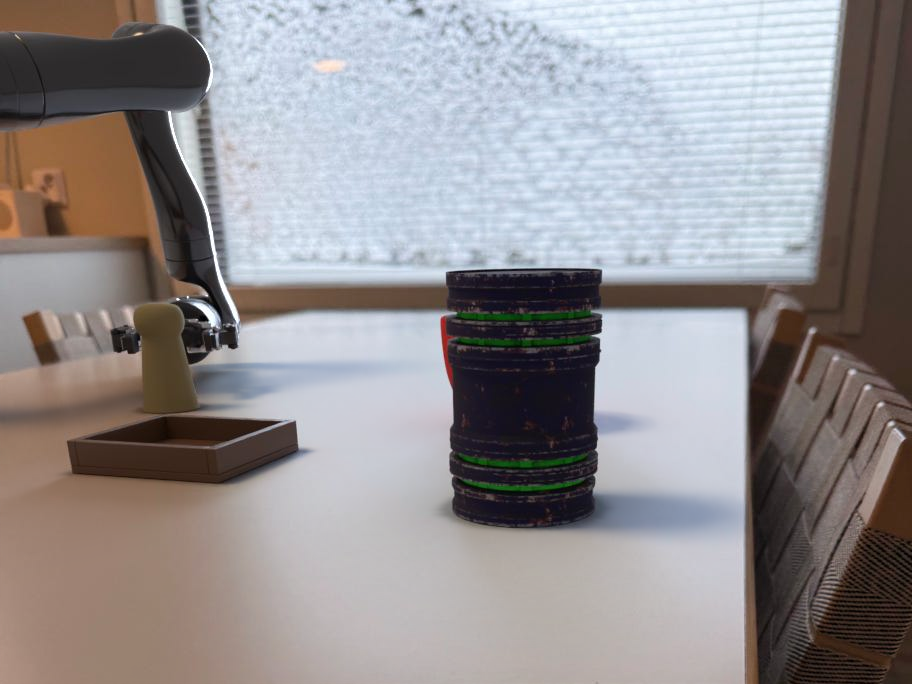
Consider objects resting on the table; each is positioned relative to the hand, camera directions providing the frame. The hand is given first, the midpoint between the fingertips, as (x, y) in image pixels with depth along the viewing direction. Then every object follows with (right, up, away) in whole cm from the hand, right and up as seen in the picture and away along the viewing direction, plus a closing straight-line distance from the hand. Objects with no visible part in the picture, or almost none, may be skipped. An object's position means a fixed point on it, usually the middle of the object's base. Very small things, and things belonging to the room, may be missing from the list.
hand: (168, 343), depth 107 cm
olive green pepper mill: (+1, -8, -2) cm, 8 cm away
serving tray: (+11, -18, -27) cm, 34 cm away
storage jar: (+38, -24, -42) cm, 62 cm away
